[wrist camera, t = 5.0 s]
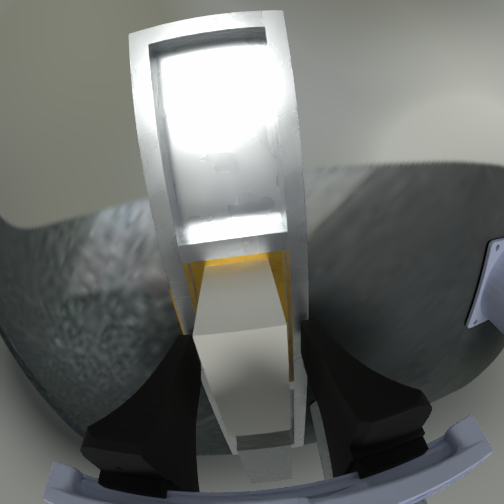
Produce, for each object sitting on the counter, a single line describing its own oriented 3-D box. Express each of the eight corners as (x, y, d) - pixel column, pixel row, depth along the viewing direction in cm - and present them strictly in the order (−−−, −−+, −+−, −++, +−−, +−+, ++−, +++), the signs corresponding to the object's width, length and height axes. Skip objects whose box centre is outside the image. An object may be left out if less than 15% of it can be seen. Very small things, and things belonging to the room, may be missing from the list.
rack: (275, 27, 9) (303, -34, 4) (299, 428, 21) (310, 479, 16) (140, 47, 9) (86, 3, 4) (230, 436, 21) (232, 489, 16)
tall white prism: (268, 258, 13) (286, 324, 8) (277, 361, 16) (290, 429, 11) (204, 266, 13) (192, 335, 8) (228, 367, 16) (229, 436, 11)
